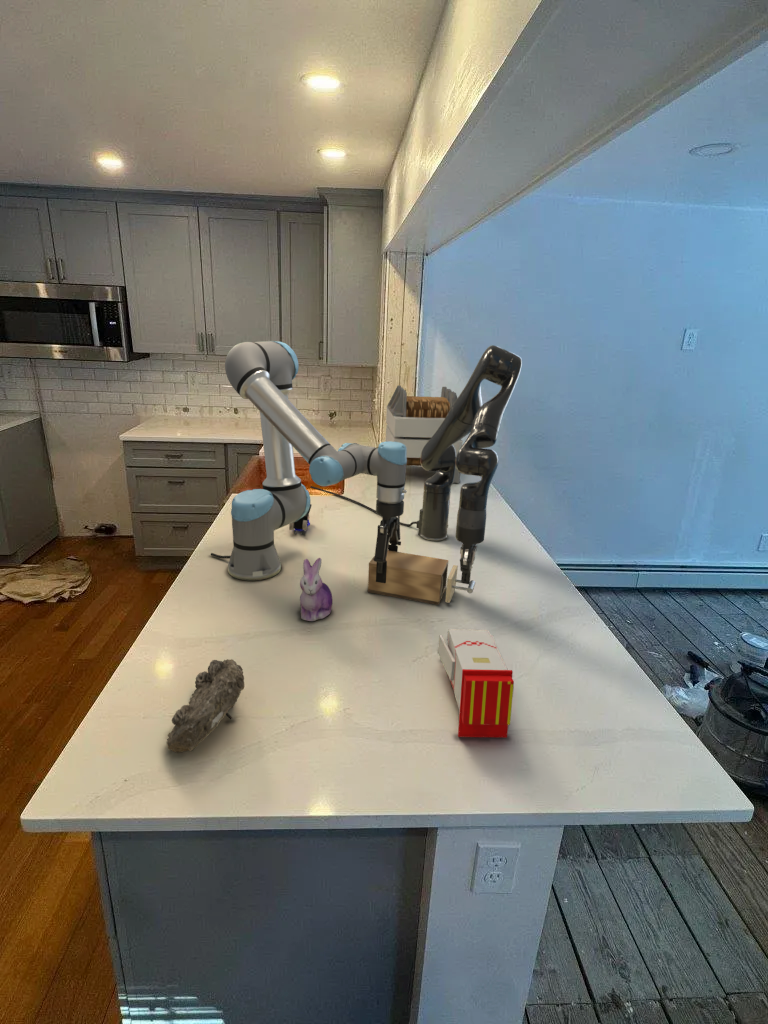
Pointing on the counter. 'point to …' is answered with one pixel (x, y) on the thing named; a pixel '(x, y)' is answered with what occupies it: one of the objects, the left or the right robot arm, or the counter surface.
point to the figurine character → (301, 523)
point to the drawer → (453, 584)
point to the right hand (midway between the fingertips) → (465, 582)
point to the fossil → (206, 705)
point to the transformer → (418, 422)
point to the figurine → (314, 593)
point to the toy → (478, 682)
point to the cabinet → (409, 577)
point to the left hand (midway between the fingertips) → (386, 573)
